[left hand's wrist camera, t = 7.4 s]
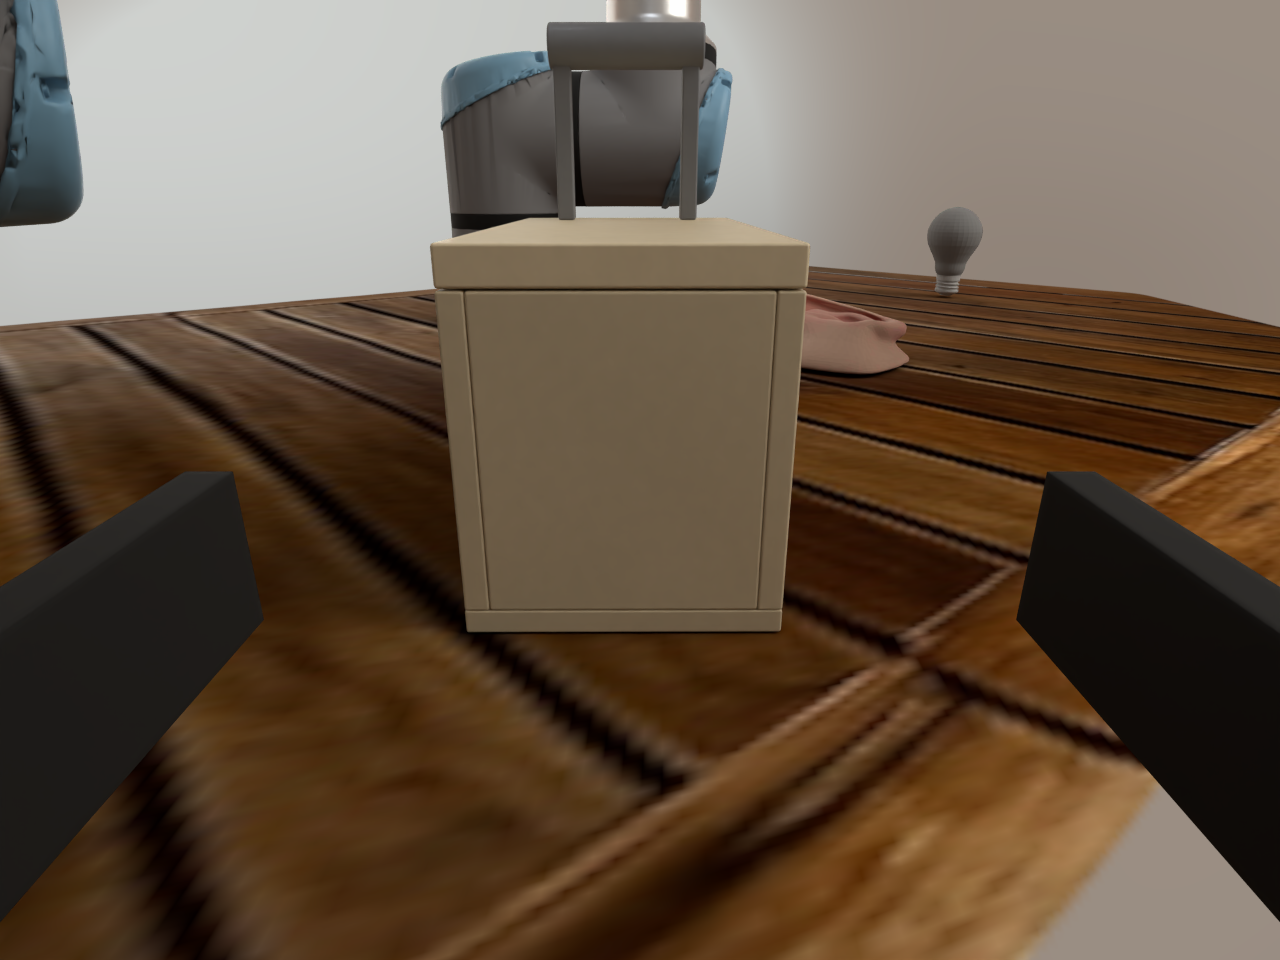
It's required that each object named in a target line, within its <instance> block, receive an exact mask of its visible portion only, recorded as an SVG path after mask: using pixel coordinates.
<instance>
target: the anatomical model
mask: <svg viewBox="0 0 1280 960" xmlns="http://www.w3.org/2000/svg"><path fill="white" fill-rule="evenodd" d="M905 332H906V325H905V324H904V323H903V322H900V321H897V320H894V319H891V318H887V317H884V316H881V315H878V314H875V313H872V312H869V311H866V310H863V309H860V308H856V307H852V306H848V305H845V304H841V303H838V302H834V301H831V300H827V299H824V298H820V297H816V296H812V295H808V294H807V295H806V307H805V320H804V333H803V346H802V359H801V368H805V369H812V370H820V371H828V372H836V373H846V374H873V373H879V372H883V371H887V370H890V369H893V368H896V367H899V366H901V365H903V364H905V363H907V362H908V361H909V357H908V356H907V355H906V354H905V353H904V352H903V351H902V350H901V349H899V348H898V347H897V345H896V343H895V342H896V340H898V339H899V338H900V337H902V336H903V335H904V334H905Z"/></svg>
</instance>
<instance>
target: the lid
mask: <svg viewBox="0 0 1280 960" xmlns="http://www.w3.org/2000/svg"><path fill="white" fill-rule="evenodd" d="M705 38H706V34H705V24H704V23H703V22H549V23H548V25H547V53H548V62H549V67H550V69H551V70H553V86H554V113H555V139H556V166H557V193H558V218H527V219H523V220H520V221H516V222H512V223H508V224H504V225H500V226H496V227H493V228H489V229H485V230H481V231H477V232H473V233H469V234H466V235H462V236H458V237H454V238H450V239H446V240H443V241H439V242H435V243H432V244H431V245H430V251H431V261H432V272H433V282H434V286H435V288H437V289H796V288H806V286H807V280H808V267H809V255H810V245H809V243H806V242H803V241H800V240H797V239H793V238H790V237H787V236H784V235H781V234H777V233H774V232H771V231H767V230H764V229H761V228H758V227H755V226H751V225H748V224H745V223H742V222H738V221H735V220H732V219H729V218H696V208H697V169H698V130H699V90H700V70H702V69H703V67H704V60H705ZM571 70H682V90H681V147H680V205H679V218H576V209H575V175H574V141H573V107H572V73H571Z"/></svg>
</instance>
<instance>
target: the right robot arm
mask: <svg viewBox="0 0 1280 960" xmlns="http://www.w3.org/2000/svg"><path fill="white" fill-rule="evenodd" d="M700 21H701V0H606V22H700ZM571 73H572V107H573V141H574V175H575V206H662V208H664V209H666V208H668V207H669V206H679V205H680V147H681V90H682V70H590V71H582V72H571ZM731 84H732V75H731V73H730V72H728V71H725V70H724V69H723V68H719V69H718V70H716V46H715V44H714V43H713V42H712V41H711V40H710V39H709V38H708V37H707V36H706V38H705V60H704V67H703V69H702V70H700V90H699V130H698V169H697V205H699V204H702V203H704V202H705V201H707V200H708V199H709V198H710V197H711V195H712V193H713V192H714V189H715V186H716V182H717V177H718V173H719V167H720V162H721V157H722V151H723V145H724V139H725V133H726V126H727V120H728V113H729V105H730V97H731ZM441 97H442V122H441V130H442V131H443V138H444V149H445V159H446V170H447V181H448V192H449V203H450V213H451V223H452V238H454V237H458V236H462V235H466V234H469V233H473V232H477V231H481V230H485V229H489V228H493V227H496V226H500V225H504V224H508V223H512V222H516V221H520V220H523V219H527V218H558V193H557V166H556V139H555V113H554V86H553V70H551V69H550V67H549V62H548V53H547V51H538V52H531V51H521V52H511V53H503V54H497V55H491V56H485V57H481V58H477V59H473V60H469V61H466V62H464V63H461V64H459V65H457V66H455V67H454V68H452V69H451V70H449V71H448V72H447V74H446V75H445V77H444V79H443V81H442V86H441Z"/></svg>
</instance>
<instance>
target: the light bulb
mask: <svg viewBox="0 0 1280 960" xmlns="http://www.w3.org/2000/svg"><path fill="white" fill-rule="evenodd" d="M982 233H983V229H982V224H981V222H980V220H979V218H978V217H977V215H976V214H975V213H974V212H973V211H971V210H969V209H966V208H962V207H954V208H950V209H947V210H945V211H943V212H942V213H940V214H939V215H938V216H937V217H936V218H935V219H934V220H933V222H932V223H931V225H930V227H929V229H928V235H927V238H928V245H929V247H930V250H931V252H932V254H933V257H934V260H935V271H936V273H937V278H936V279H937V280H938V281H936V282H937V284H936V286H937V287H936V288H935V291H936V292H938V293H939V294H940V295H946V296H949V295H952V294H954V293H956V292H958V290H957V288H959V287H957V285H959V284H958V281H960V276H961V274H962V273H963V271H964V269H965V265H966V262H967V261H968V259H969V258H970V256H971V255H972V254H973V252H974V251H975V249H976V248H977V247H978V245H979V243H980V241H981V238H982Z"/></svg>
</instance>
